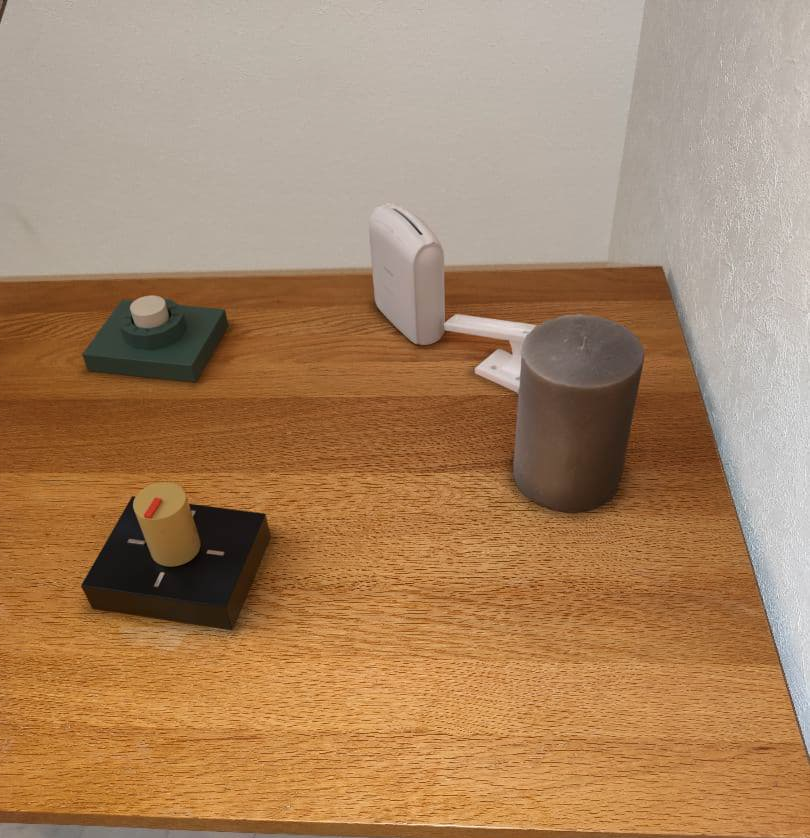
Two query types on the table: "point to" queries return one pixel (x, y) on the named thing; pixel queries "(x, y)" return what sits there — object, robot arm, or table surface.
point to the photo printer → (408, 273)
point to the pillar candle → (575, 410)
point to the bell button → (149, 312)
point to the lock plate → (181, 570)
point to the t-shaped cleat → (499, 363)
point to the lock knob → (167, 523)
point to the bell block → (157, 343)
